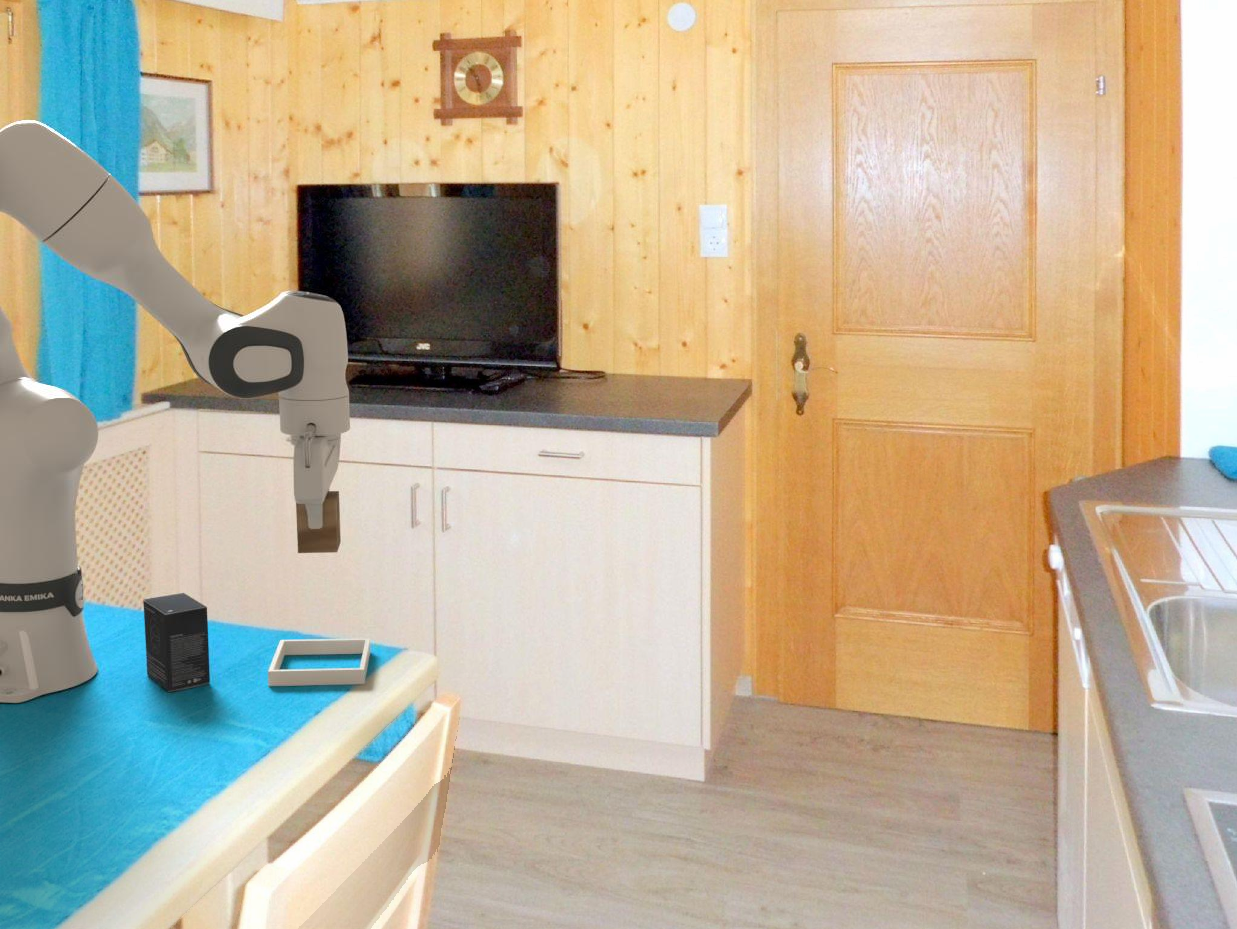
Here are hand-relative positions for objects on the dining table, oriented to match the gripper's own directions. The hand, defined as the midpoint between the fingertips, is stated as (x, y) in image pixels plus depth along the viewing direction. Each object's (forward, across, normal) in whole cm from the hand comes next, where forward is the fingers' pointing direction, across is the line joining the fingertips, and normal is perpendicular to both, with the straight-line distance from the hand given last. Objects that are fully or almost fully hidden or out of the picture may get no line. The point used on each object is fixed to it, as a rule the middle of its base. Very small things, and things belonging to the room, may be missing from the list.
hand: (318, 521), depth 175 cm
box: (+20, -3, +18) cm, 28 cm away
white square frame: (+20, 0, 0) cm, 20 cm away
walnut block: (+4, 0, 0) cm, 4 cm away
